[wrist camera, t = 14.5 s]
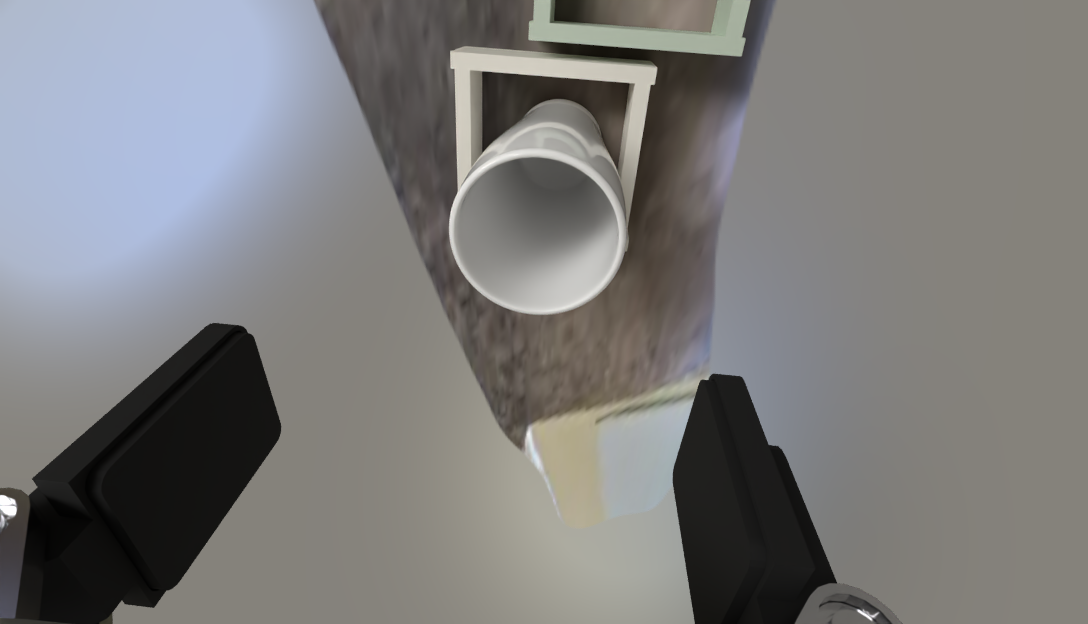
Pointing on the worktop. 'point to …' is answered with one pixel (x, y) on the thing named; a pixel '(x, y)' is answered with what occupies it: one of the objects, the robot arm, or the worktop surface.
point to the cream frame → (553, 65)
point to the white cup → (541, 213)
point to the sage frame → (647, 32)
